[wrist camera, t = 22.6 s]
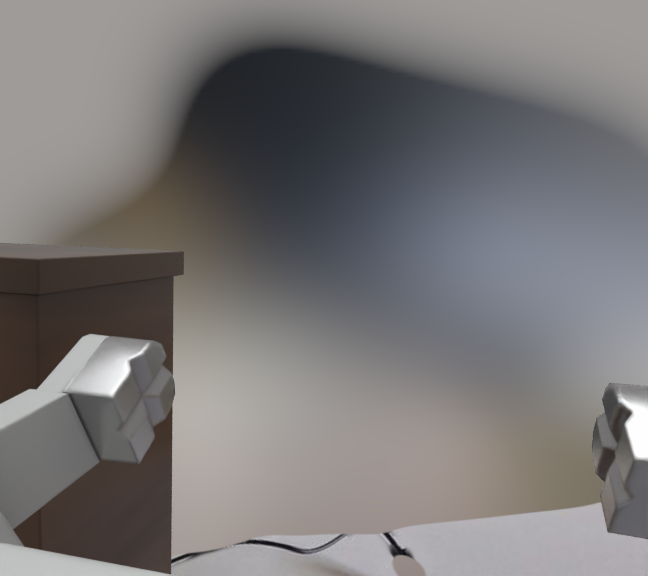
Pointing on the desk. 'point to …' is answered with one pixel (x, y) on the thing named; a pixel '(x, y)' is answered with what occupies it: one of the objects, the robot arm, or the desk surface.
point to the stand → (51, 348)
